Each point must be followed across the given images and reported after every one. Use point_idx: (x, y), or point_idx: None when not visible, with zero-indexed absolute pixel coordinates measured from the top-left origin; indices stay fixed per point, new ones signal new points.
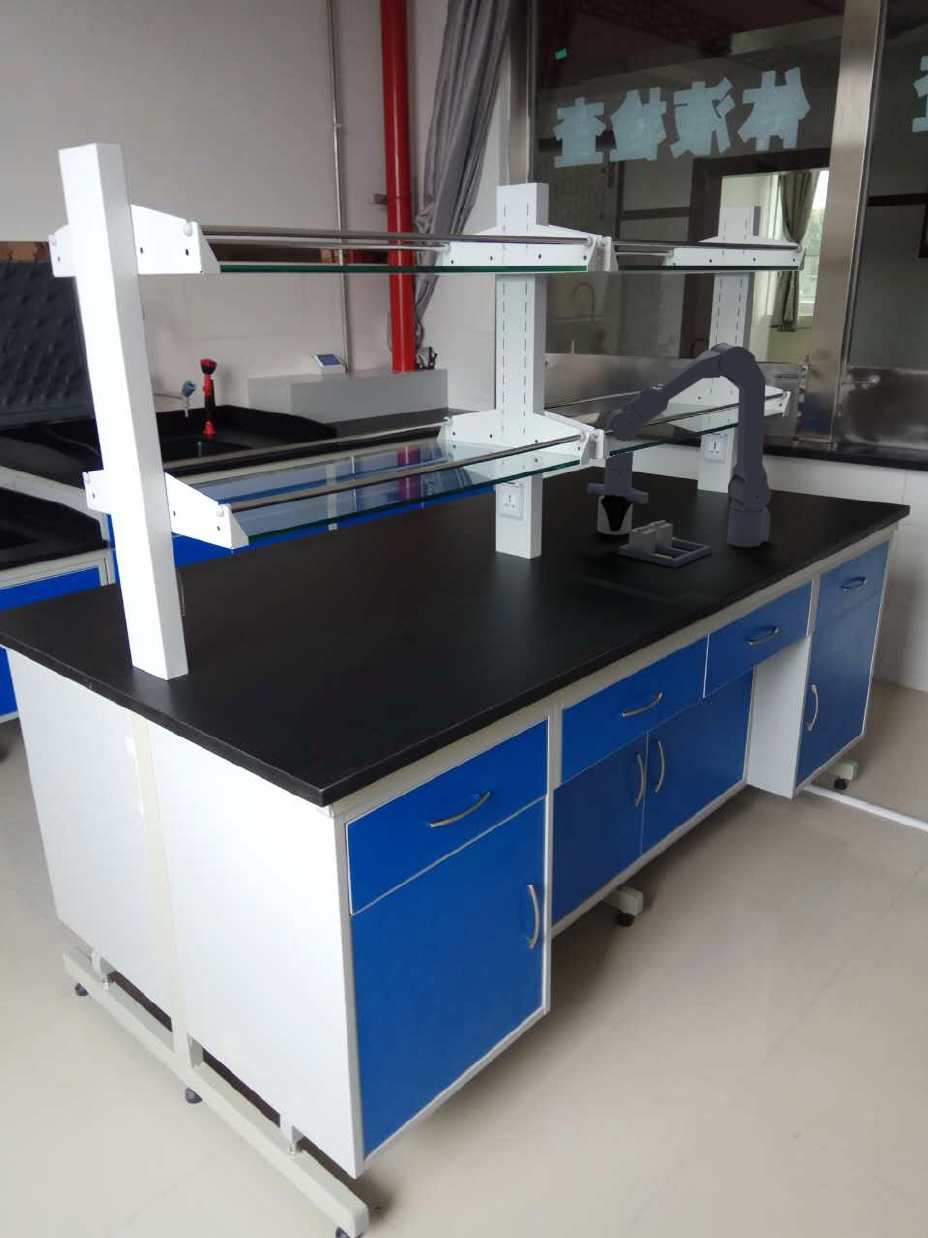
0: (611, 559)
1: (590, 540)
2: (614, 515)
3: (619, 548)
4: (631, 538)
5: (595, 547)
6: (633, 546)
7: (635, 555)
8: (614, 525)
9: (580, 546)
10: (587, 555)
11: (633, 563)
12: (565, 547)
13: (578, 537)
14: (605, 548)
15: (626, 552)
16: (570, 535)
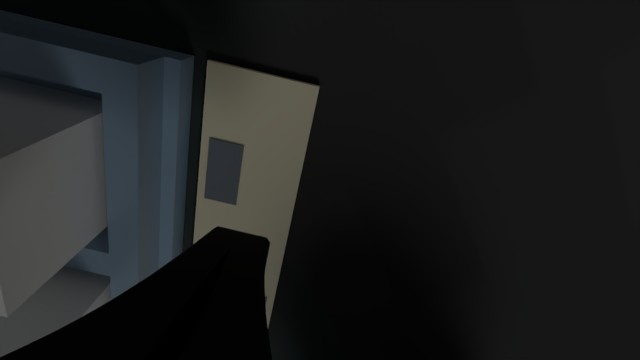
0: (206, 13)
1: (481, 309)
2: (115, 325)
3: (135, 62)
4: (16, 136)
5: (409, 208)
6: (40, 109)
7: (2, 23)
8: (191, 251)
9: (506, 188)
10: (394, 15)
11: (46, 3)
12: (606, 122)
13: (564, 330)
14: (348, 215)
15: (80, 44)
16: (619, 345)
